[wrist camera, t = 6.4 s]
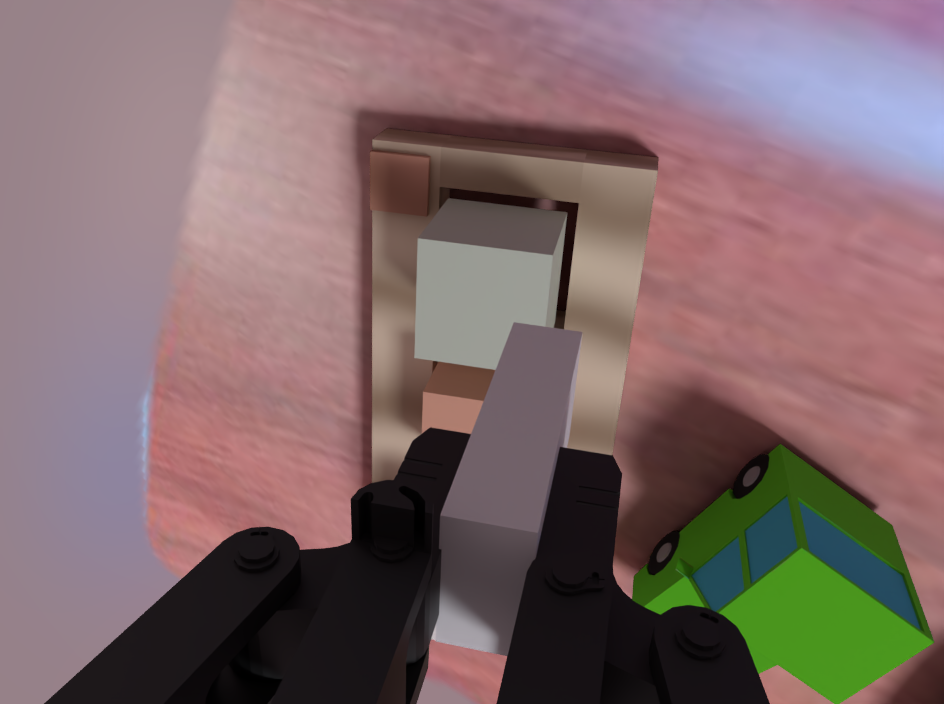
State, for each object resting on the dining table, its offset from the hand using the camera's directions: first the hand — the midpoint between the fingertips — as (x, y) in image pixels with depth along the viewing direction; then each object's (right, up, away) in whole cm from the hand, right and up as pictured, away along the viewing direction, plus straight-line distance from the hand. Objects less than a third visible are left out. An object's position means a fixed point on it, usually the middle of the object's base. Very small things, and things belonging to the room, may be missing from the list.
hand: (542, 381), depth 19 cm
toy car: (+15, -11, +33) cm, 38 cm away
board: (0, -1, +31) cm, 31 cm away
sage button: (0, +5, +25) cm, 25 cm away
